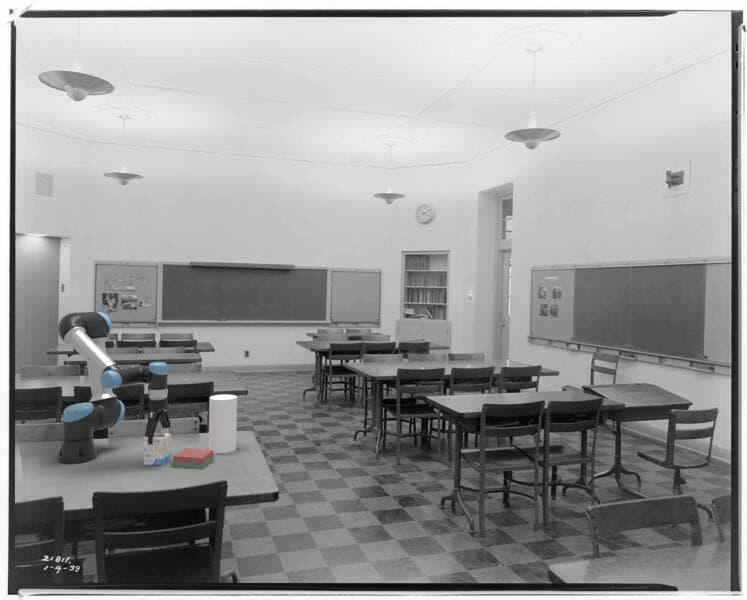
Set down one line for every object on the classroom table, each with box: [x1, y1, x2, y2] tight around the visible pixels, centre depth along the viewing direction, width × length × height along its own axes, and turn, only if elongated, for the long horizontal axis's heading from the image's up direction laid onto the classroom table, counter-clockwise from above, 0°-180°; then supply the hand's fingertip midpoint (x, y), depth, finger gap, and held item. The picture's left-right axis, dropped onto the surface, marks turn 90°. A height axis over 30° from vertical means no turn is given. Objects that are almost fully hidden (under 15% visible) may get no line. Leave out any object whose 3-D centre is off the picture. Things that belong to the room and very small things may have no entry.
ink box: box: [143, 432, 172, 466], centre depth 240 cm, size 9×8×13 cm
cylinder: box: [208, 393, 238, 454], centre depth 260 cm, size 12×12×25 cm
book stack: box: [170, 447, 215, 470], centre depth 240 cm, size 14×12×5 cm
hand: (158, 447), depth 240 cm, fingers open, 13 cm apart
